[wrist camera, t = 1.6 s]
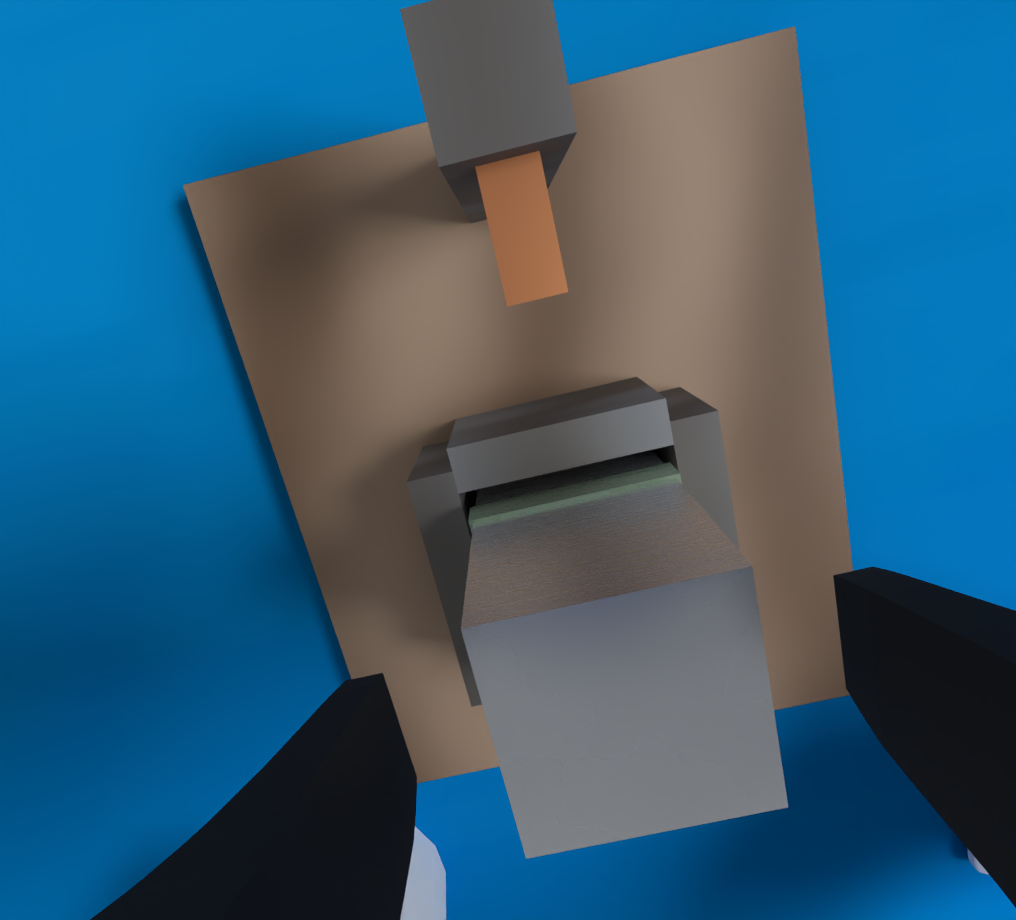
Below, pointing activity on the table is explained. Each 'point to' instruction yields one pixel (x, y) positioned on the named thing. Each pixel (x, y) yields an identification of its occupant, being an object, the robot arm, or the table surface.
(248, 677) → the table surface
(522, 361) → the stand
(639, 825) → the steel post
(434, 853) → the shot glass
